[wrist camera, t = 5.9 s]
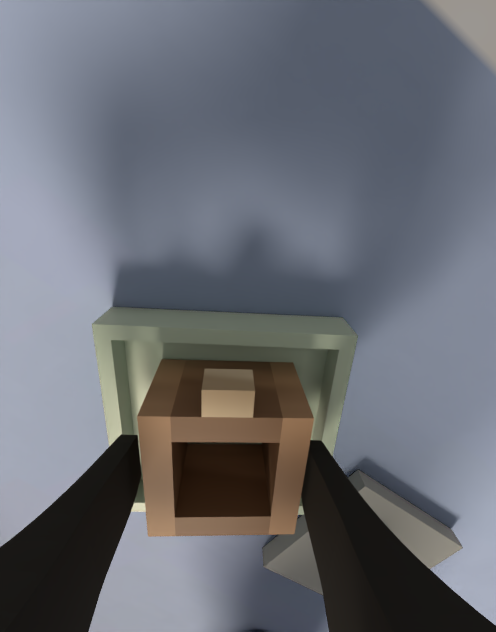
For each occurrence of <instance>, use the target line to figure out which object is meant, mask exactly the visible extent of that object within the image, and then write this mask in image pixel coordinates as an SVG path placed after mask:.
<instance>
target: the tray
mask: <svg viewBox="0 0 496 632" xmlns="http://www.w3.org/2000/svg"><path fill="white" fill-rule="evenodd" d="M92 329H93V336H94V343H95V350H96V357H97V364H98V371H99V378H100V385H101V392H102V399H103V406H104V413H105V420H106V427H107V434H108V441H109V447H110V445H111V444H112V443H113V442H114V441H115V440H116V439H117V438H118V437H119V436H120V435H121V434H124V435H138V444H139V454H140V443H139V432H138V421H137V415H138V413H139V411H140V408H141V406H142V404H143V401H144V399H145V397H146V394H147V392H148V390H149V387H150V385H151V383H152V380H153V378H154V376H155V373H156V371H157V369H158V366H159V364H160V362H161V359H174V360H215V361H255V362H293V363H294V366H295V369H296V371H297V374H298V377H299V379H300V382H301V385H302V387H303V390H304V393H305V395H306V398H307V401H308V403H309V406H310V409H311V411H312V414H313V417H314V422H313V428H312V434H311V440H321V441H322V442H323V443H324V445H325V446H326V448H327V449H328V451H329V452H330V454H331V455H332V456H333V451H334V447H335V442H336V437H337V433H338V428H339V423H340V418H341V414H342V409H343V404H344V400H345V395H346V390H347V385H348V381H349V376H350V371H351V366H352V362H353V357H354V352H355V348H356V343H357V338H358V335H357V334H356V333H355V332H354V331H353V329H352V328H351V327H350V326H349V325H348V323H347V322H346V321H345V320H344V319H343V318H340V317H319V316H297V315H276V314H255V313H233V312H212V311H191V310H169V309H148V308H127V307H111V308H110V309H109V310H108V311H106V312H105V313H104V314H103V315H102V316H101V317H100V318H98V319H97V320H96V321H95V322H94V323H93V324H92ZM188 444H258V445H262V443H244V442H188ZM140 465H141V479H140V483H139V487H138V490H137V494H136V498H135V501H134V505H133V507H132V510H131V511H132V512H146V508H145V497H144V486H143V475H142V464H141V454H140ZM298 515H304V511H303V505H302V498H301V499H300V504H299V510H298Z"/></svg>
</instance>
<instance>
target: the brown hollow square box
mask: <svg viewBox="0 0 496 632" xmlns="http://www.w3.org/2000/svg"><path fill="white" fill-rule="evenodd" d="M137 421H138V432H139V443H140V454H141V464H142V475H143V486H144V497H145V508H146V519H147V529H148V536H213V535H278V534H295V528H296V522H297V516H298V510H299V504H300V499H301V493H302V487H303V481H304V475H305V469H306V463H307V457H308V451H309V445H310V440H311V434H312V428H313V422H314V417H313V414H312V411H311V409H310V406H309V403H308V401H307V398H306V395H305V393H304V390H303V387H302V385H301V382H300V379H299V377H298V374H297V371H296V369H295V366H294V363H293V362H255V361H215V360H174V359H161V362H160V364H159V366H158V369H157V371H156V373H155V376H154V378H153V380H152V383H151V385H150V387H149V390H148V392H147V394H146V397H145V399H144V401H143V404H142V406H141V408H140V411H139V413H138V415H137ZM188 442H244V443H262V445H258V444H188Z"/></svg>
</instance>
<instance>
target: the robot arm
mask: <svg viewBox="0 0 496 632" xmlns="http://www.w3.org/2000/svg"><path fill="white" fill-rule="evenodd" d="M140 479H141V465H140V454H139V444H138V435H124V434H121V435H120V436H119V437H118V438H117V439H116V440H115V441H114V442H113V443H112V444H111V445H110V447H109V448H108V449H107V450H106V451H105V452H104V453H103V454H102V455H101V456H100V457H99V458H98V459H97V460H96V461H95V463H94V464H93V465H92V466H91V467H90V468H89V469H88V470H87V471H86V472H85V473H84V474H83V475H82V476H81V477H80V478H79V479H78V480H77V481H76V482H75V483H74V484H73V485H72V486H71V487H70V488H69V489H68V490H67V491H66V492H64V493H63V494H62V495H61V496H60V497H59V498H58V499H57V500H56V501H55V502H54V503H53V504H52V505H51V506H50V507H48V508H47V509H46V510H45V511H44V512H43V513H42V514H40V515H39V516H38V517H37V518H36V519H35V520H34V521H32V522H31V523H30V524H29V525H28V526H26V527H25V528H24V529H23V530H22V531H20V532H19V533H18V534H17V535H16V536H14V537H13V538H12V539H10V540H9V541H8V542H7V543H5V544H4V545H3V546H1V547H0V632H88V631H89V627H90V624H91V621H92V617H93V614H94V611H95V608H96V604H97V601H98V598H99V594H100V591H101V588H102V586H103V583H104V580H105V577H106V574H107V572H108V569H109V567H110V564H111V561H112V559H113V556H114V554H115V551H116V549H117V546H118V544H119V541H120V538H121V536H122V533H123V531H124V528H125V526H126V523H127V520H128V518H129V515H130V513H131V510H132V507H133V505H134V501H135V498H136V494H137V490H138V487H139V483H140ZM301 498H302V505H303V511H304V515H305V519H306V523H307V527H308V532H309V536H310V540H311V544H312V548H313V552H314V556H315V560H316V564H317V568H318V573H319V577H320V581H321V586H322V591H323V596H324V602H325V609H326V615H327V621H328V627H329V632H496V626H495V625H494V624H493V623H492V622H490V621H489V620H488V619H486V618H485V617H484V616H483V615H481V614H480V613H479V612H478V611H476V610H475V609H474V608H473V607H472V606H471V605H469V604H468V603H467V602H466V601H465V600H463V599H462V598H461V597H460V596H459V595H458V594H456V593H455V592H454V591H453V590H452V589H451V588H449V587H448V586H447V585H446V584H445V583H444V582H443V581H442V580H441V579H440V578H439V577H437V576H436V575H435V574H434V573H433V572H432V571H431V570H430V569H429V568H428V567H427V566H426V565H425V564H423V563H422V562H421V561H420V560H419V559H418V558H417V557H416V556H415V555H414V554H413V553H412V552H411V551H410V550H409V549H408V548H407V547H406V546H405V545H404V544H403V543H402V542H401V541H400V540H399V539H398V538H397V536H396V535H395V534H394V533H393V532H392V531H391V530H390V529H389V528H388V527H387V526H386V525H385V523H384V522H383V521H382V520H381V519H380V518H379V517H378V515H377V514H376V513H375V512H374V511H373V509H372V508H371V507H370V506H369V505H368V503H367V502H366V501H365V500H364V498H363V497H362V496H361V495H360V493H359V492H358V491H357V490H356V488H355V487H354V486H353V484H352V483H351V482H350V480H349V479H348V478H347V476H346V475H345V474H344V472H343V471H342V469H341V468H340V467H339V465H338V464H337V462H336V461H335V459H334V458H333V457H332V455H331V454H330V452H329V451H328V449H327V448H326V446H325V445H324V443H323V442H322V441H321V440H310V445H309V451H308V457H307V463H306V469H305V475H304V481H303V487H302V493H301Z"/></svg>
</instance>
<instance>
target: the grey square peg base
mask: <svg viewBox="0 0 496 632" xmlns="http://www.w3.org/2000/svg"><path fill="white" fill-rule="evenodd" d="M348 479H349V480H350V482H351V483H352V484H353V486H354V487H355V488H356V490H357V491H358V492H359V493H360V495H361V496H362V497H363V498H364V500H365V501H366V502H367V503H368V505H369V506H370V507H371V508H372V509H373V511H374V512H375V513H376V514H377V515H378V517H379V518H380V519H381V520H382V521H383V522H384V523H385V525H386V526H387V527H388V528H389V529H390V530H391V531H392V532H393V533H394V534H395V535H396V536H397V538H398V539H399V540H400V541H401V542H402V543H403V544H404V545H405V546H406V547H407V548H408V549H409V550H410V551H411V552H412V553H413V554H414V555H415V556H416V557H417V558H418V559H419V560H420V561H421V562H422V563H423V564H425V565H426V566H427V567H428V568H429V569H431V568H432V567H434V566H435V565H437V564H439V563H440V562H442V561H443V560H445V559H446V558H448V557H449V556H451V555H453V554H454V553H456V552H457V551H459V550H460V549H462V548H463V547H462V545H461V544H460V542H459V540H458V539H457V537H456V536H455V534H454V532H453V531H452V529H450V528H448V527H447V526H445V525H444V524H442V523H441V522H439V521H438V520H436V519H434V518H433V517H431V516H430V515H428V514H427V513H425V512H423V511H422V510H420V509H419V508H417V507H416V506H414V505H413V504H411V503H409V502H408V501H406V500H405V499H403V498H402V497H400V496H399V495H397V494H395V493H394V492H392V491H391V490H389V489H388V488H386V487H385V486H383V485H381V484H380V483H378V482H377V481H375V480H374V479H372V478H371V477H369V476H367V475H366V474H364V473H363V472H361V471H360V470H357V471H356V472H354V473H353V474H352V475H351V476H349V477H348ZM262 550H263V566H264V567H265V568H267V569H269V570H271V571H273V572H275V573H277V574H279V575H281V576H283V577H286V578H288V579H290V580H292V581H294V582H296V583H298V584H300V585H302V586H304V587H307V588H309V589H311V590H313V591H315V592H317V593H319V594H321V595H323V591H322V586H321V581H320V577H319V573H318V568H317V564H316V560H315V556H314V552H313V548H312V544H311V540H310V536H309V532H308V527H307V523H306V519H305V515H302V516H301V517H300V518H298V519H297V522H296V528H295V534H279V535H278V536H277V537H275V538H274V539H273V540H272V541H270V542H269V543H268V544H267V545H266V546H264V547H263V548H262Z"/></svg>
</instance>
